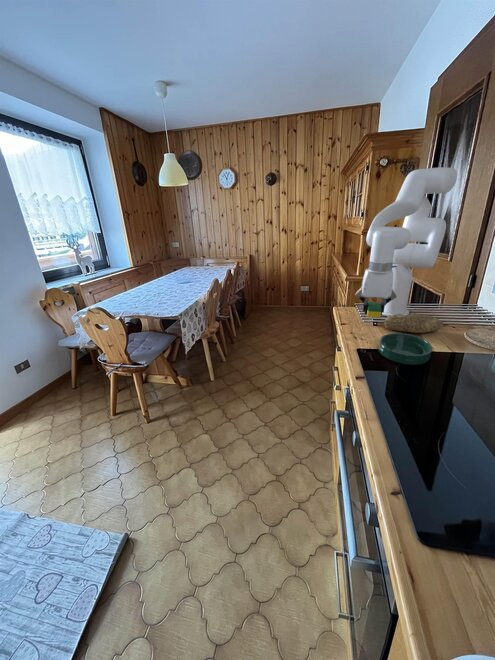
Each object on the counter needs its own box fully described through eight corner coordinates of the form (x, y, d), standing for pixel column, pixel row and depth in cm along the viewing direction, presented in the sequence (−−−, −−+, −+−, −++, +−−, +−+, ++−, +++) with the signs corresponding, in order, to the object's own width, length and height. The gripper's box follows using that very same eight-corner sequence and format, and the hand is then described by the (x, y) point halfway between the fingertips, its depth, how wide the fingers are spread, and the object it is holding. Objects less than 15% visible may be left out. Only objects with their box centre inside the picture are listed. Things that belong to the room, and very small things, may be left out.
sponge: (383, 335, 116) (442, 336, 104) (383, 316, 114) (442, 315, 102) (389, 328, 126) (444, 329, 114) (389, 311, 125) (444, 309, 113)
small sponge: (365, 310, 112) (366, 302, 111) (377, 310, 111) (379, 302, 110) (367, 317, 106) (368, 308, 105) (380, 317, 105) (381, 309, 104)
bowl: (375, 340, 109) (377, 331, 108) (422, 344, 105) (424, 334, 103) (381, 363, 95) (383, 353, 94) (435, 368, 91) (438, 358, 89)
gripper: (404, 264, 102) (394, 311, 110) (354, 263, 106) (349, 308, 114) (408, 269, 95) (398, 318, 103) (355, 268, 100) (349, 315, 108)
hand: (372, 313), depth 109 cm, fingers closed on small sponge, 4 cm apart
